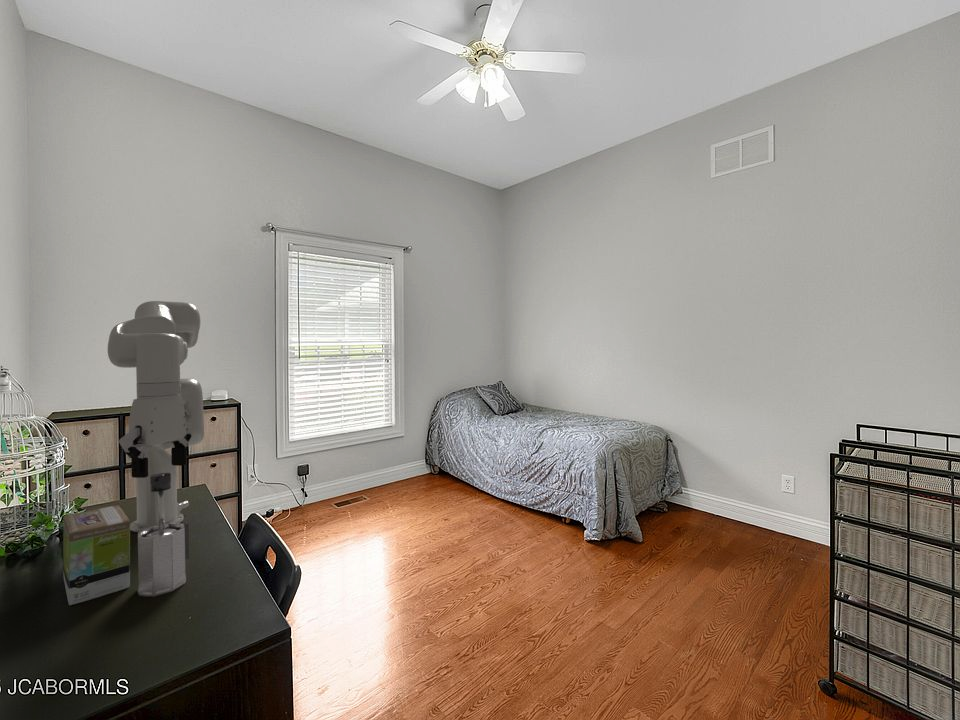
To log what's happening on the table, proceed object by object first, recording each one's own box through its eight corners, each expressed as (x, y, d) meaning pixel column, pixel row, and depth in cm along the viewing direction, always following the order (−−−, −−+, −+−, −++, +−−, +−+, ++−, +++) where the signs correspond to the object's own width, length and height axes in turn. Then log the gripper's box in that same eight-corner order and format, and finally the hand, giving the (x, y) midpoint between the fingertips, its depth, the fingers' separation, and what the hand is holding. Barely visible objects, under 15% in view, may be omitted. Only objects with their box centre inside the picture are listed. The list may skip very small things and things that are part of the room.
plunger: (161, 530, 96) (160, 471, 96) (183, 532, 96) (182, 472, 96) (139, 541, 91) (137, 478, 91) (162, 542, 90) (161, 479, 90)
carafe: (170, 569, 101) (169, 518, 100) (203, 571, 100) (202, 519, 99) (127, 595, 90) (126, 537, 90) (163, 597, 89) (162, 539, 89)
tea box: (132, 587, 93) (131, 519, 93) (67, 608, 86) (66, 533, 85) (120, 564, 103) (119, 502, 103) (62, 580, 96) (60, 514, 96)
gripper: (176, 388, 102) (177, 461, 102) (103, 394, 85) (105, 482, 85) (205, 388, 101) (206, 461, 101) (137, 394, 84) (139, 483, 84)
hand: (160, 470), depth 93 cm, fingers open, 9 cm apart
